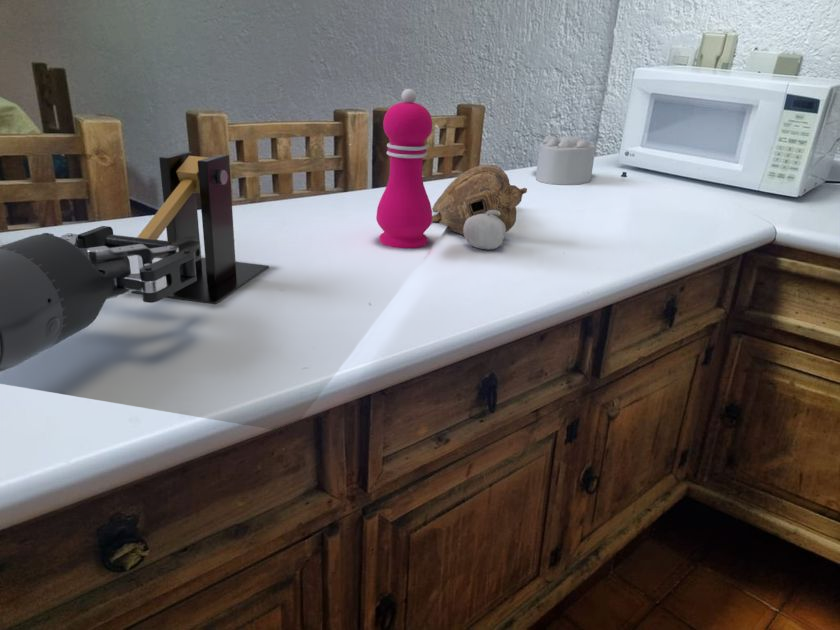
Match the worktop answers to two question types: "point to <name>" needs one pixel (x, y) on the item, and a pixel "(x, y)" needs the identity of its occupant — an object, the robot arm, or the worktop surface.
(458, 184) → the brown wooden birdhouse
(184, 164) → the lever
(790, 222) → the worktop surface
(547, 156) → the lumpy-topped squat cylinder
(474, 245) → the garlic
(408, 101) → the pepper mill
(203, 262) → the bracket
